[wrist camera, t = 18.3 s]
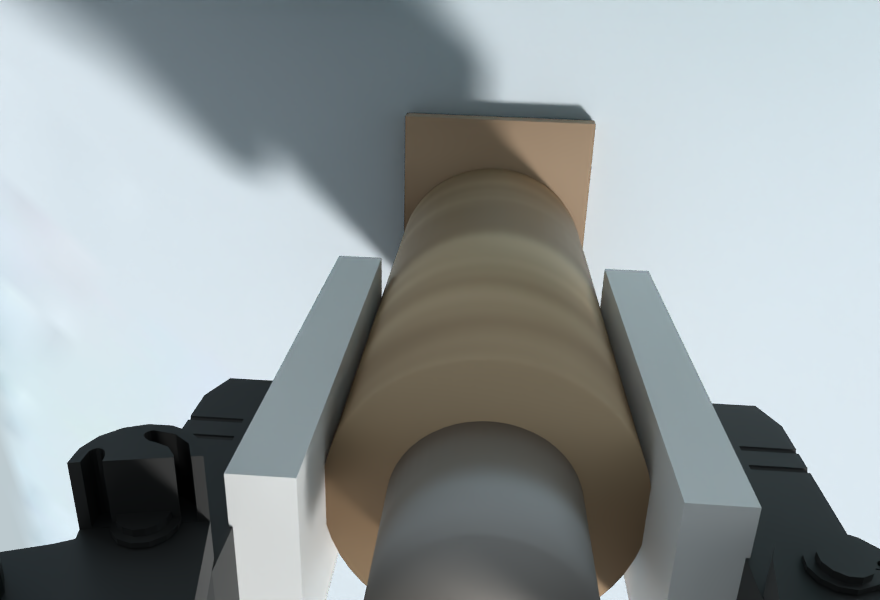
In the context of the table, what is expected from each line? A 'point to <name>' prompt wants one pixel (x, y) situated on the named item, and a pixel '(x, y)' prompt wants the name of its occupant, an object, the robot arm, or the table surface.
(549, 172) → the wooden slat
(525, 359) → the tan cylinder gray tip
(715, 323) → the table surface
